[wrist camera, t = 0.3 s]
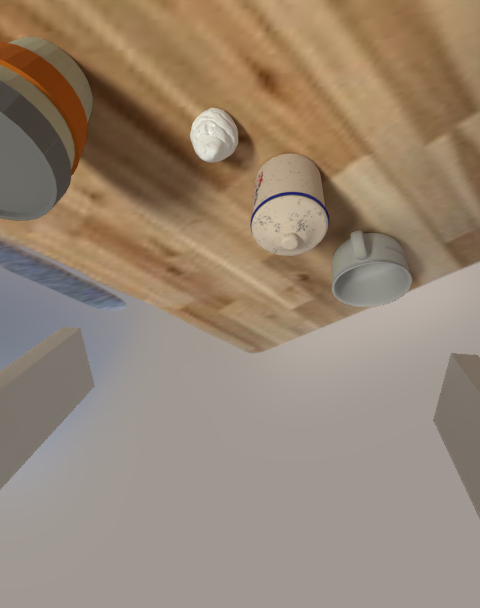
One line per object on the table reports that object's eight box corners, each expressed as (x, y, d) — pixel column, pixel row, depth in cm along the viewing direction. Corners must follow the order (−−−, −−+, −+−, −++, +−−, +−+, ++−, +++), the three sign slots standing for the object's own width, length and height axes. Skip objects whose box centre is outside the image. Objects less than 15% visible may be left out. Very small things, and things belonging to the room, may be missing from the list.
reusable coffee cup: (-30, 82, 37) (-126, 157, 28) (7, -25, 30) (-106, 30, 21) (79, 162, 44) (30, 242, 35) (131, 91, 37) (85, 170, 28)
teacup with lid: (245, 158, 42) (240, 219, 35) (320, 142, 40) (329, 204, 33) (265, 230, 52) (263, 290, 45) (326, 220, 49) (334, 282, 42)
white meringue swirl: (217, 123, 33) (245, 168, 37) (223, 96, 37) (247, 139, 40) (174, 148, 36) (204, 188, 39) (183, 121, 39) (209, 160, 43)
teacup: (397, 266, 56) (408, 305, 51) (330, 275, 59) (335, 313, 54) (404, 197, 45) (419, 238, 41) (322, 213, 48) (327, 253, 44)
